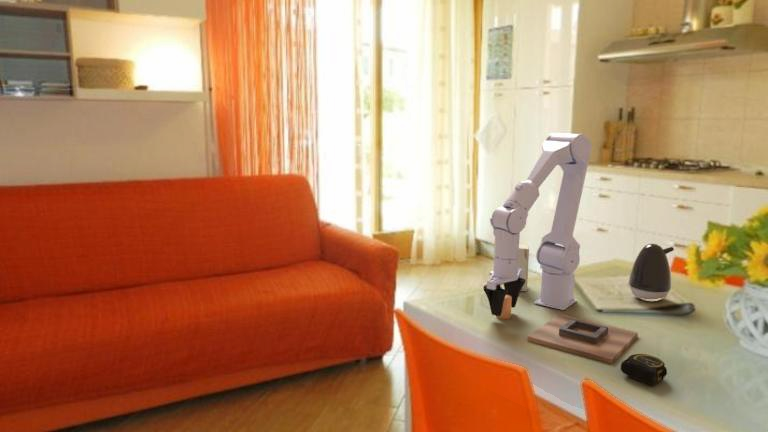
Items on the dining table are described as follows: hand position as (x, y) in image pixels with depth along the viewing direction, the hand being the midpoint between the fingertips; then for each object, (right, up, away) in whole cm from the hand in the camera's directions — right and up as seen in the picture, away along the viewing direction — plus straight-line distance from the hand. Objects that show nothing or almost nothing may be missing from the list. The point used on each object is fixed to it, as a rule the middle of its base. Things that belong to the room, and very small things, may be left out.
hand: (503, 310), depth 138 cm
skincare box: (+9, +3, +22) cm, 24 cm away
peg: (0, -1, 0) cm, 1 cm away
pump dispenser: (+42, +1, +14) cm, 44 cm away
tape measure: (+20, -8, -32) cm, 38 cm away
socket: (+15, -4, -13) cm, 20 cm away
